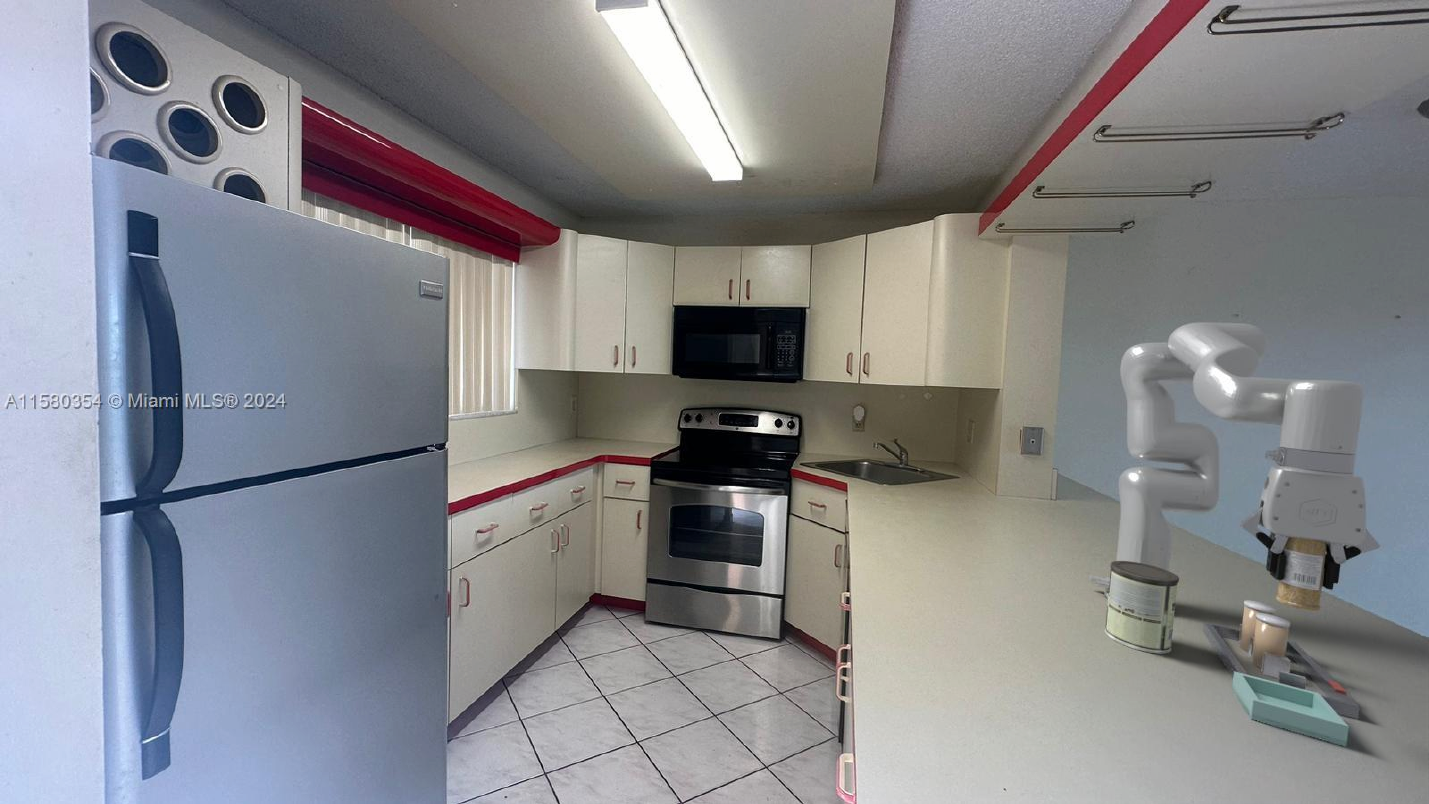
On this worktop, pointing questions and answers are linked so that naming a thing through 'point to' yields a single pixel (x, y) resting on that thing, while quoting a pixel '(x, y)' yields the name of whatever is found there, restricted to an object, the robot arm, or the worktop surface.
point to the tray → (1289, 708)
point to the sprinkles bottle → (1302, 574)
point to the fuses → (1263, 631)
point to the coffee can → (1141, 606)
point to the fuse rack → (1282, 668)
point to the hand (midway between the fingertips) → (1300, 580)
